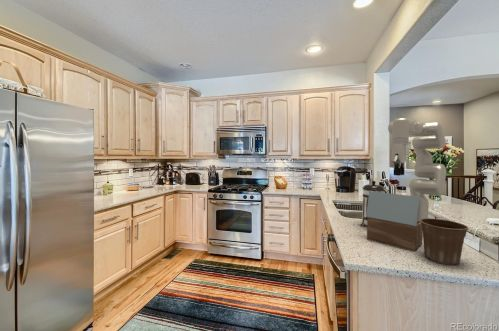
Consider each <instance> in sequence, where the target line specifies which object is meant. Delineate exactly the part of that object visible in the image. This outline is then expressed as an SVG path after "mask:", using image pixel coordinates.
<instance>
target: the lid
mask: <svg viewBox="0 0 499 331" xmlns="http://www.w3.org/2000/svg"><path fill="white" fill-rule="evenodd" d="M419 202H420V197H417V196H411V195H406V194H398V193H387V192H384V193H381V192H372V191H369V198H368V205H367V213H366V217H371V218H376V219H381V220H387V221H392V222H397V223H403V224H408V225H413V226H417V221H418V211H419Z"/></svg>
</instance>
